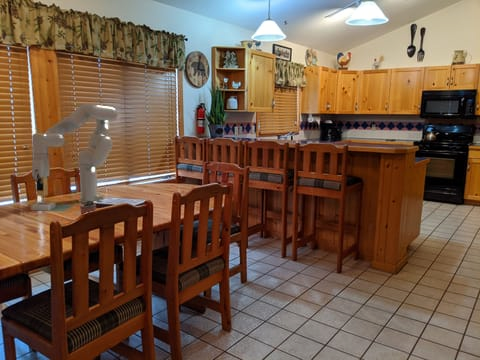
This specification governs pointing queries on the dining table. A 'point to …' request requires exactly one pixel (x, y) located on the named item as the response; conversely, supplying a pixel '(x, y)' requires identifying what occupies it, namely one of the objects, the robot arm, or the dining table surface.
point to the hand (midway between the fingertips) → (42, 189)
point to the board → (49, 206)
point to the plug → (45, 187)
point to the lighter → (87, 206)
